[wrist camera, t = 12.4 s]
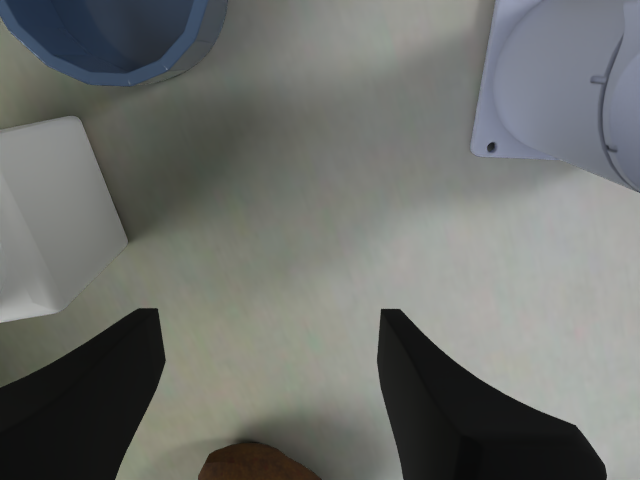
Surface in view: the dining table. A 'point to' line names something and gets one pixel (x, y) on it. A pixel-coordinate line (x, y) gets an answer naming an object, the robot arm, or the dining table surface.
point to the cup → (116, 36)
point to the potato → (253, 464)
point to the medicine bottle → (52, 218)
